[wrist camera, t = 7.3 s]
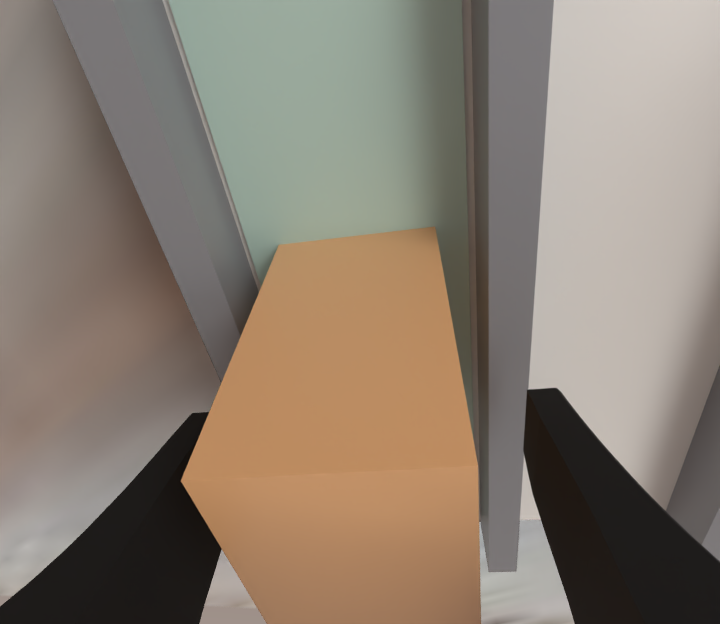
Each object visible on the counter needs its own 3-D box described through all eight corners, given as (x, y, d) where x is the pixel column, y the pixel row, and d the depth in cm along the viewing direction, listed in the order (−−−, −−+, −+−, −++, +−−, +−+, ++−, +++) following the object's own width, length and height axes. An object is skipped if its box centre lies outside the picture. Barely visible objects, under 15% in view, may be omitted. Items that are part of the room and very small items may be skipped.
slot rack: (1028, -253, 8) (1330, -361, 5) (705, 489, 19) (752, 565, 16) (71, -46, 10) (-35, -54, 7) (294, 507, 21) (282, 576, 19)
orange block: (435, 226, 12) (478, 465, 6) (446, 398, 15) (481, 655, 9) (278, 244, 12) (180, 480, 6) (324, 406, 16) (285, 655, 10)
